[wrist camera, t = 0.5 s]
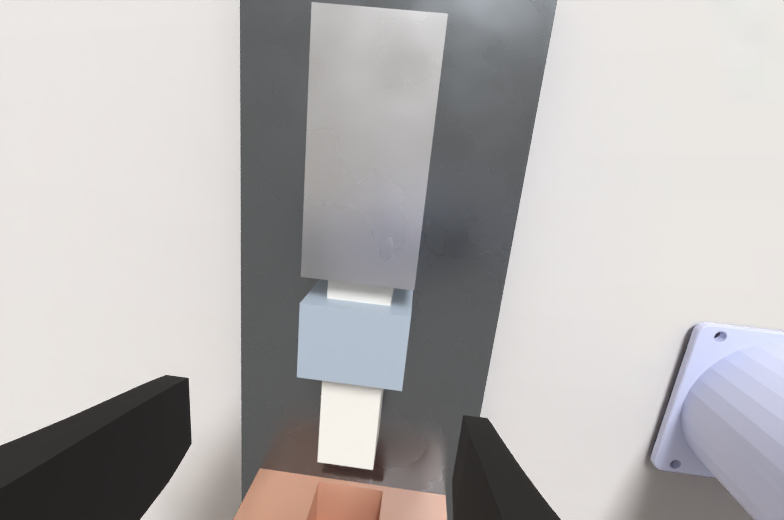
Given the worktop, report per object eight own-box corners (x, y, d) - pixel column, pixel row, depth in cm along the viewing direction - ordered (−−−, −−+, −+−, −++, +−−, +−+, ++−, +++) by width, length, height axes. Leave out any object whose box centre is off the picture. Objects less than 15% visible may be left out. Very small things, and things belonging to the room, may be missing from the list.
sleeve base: (548, 9, 15) (606, -58, 11) (450, 551, 23) (457, 658, 18) (251, -16, 16) (176, -90, 11) (249, 521, 23) (204, 616, 19)
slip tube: (438, 75, 15) (443, 51, 12) (396, 428, 19) (390, 488, 16) (335, 66, 15) (309, 39, 12) (316, 417, 19) (293, 474, 16)
